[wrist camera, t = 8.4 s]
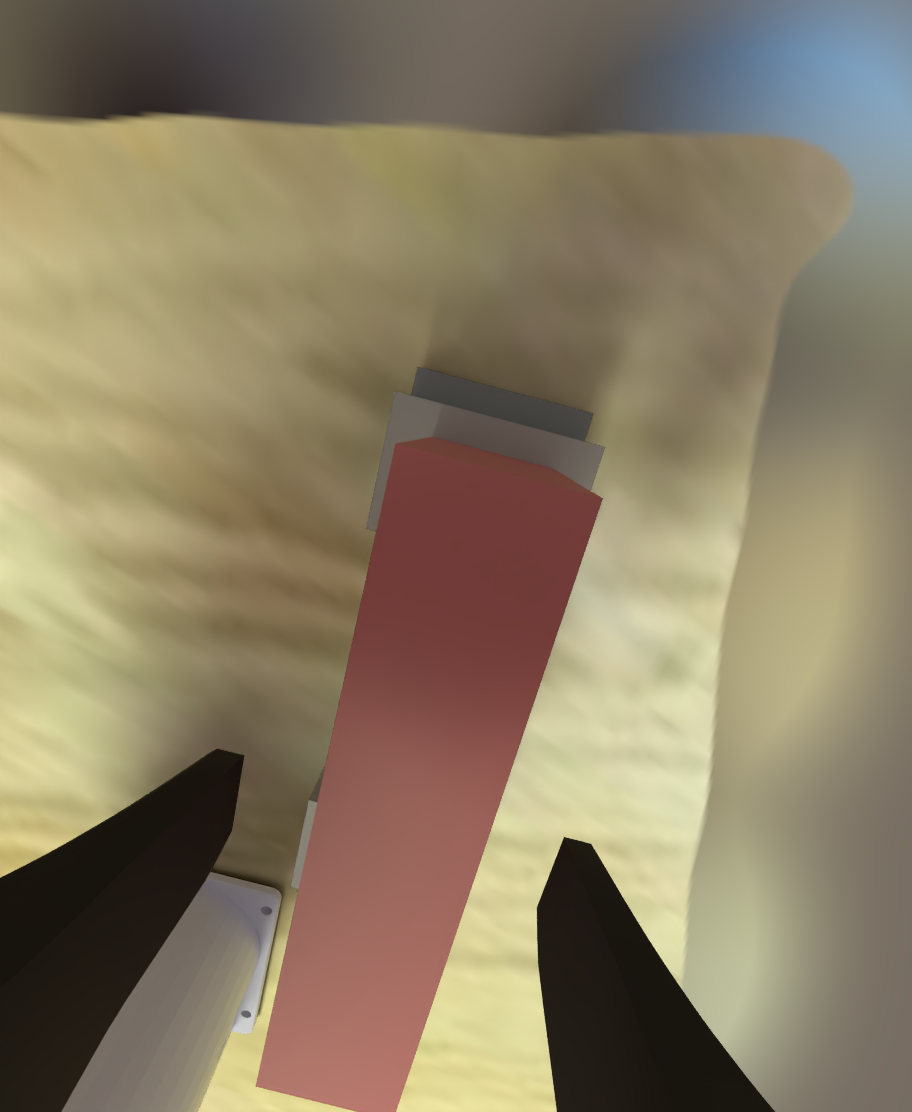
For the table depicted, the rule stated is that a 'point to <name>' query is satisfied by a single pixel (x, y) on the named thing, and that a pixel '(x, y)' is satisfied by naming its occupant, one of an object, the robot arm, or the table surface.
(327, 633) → the table surface
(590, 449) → the display rack
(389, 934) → the frame bar
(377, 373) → the table surface
